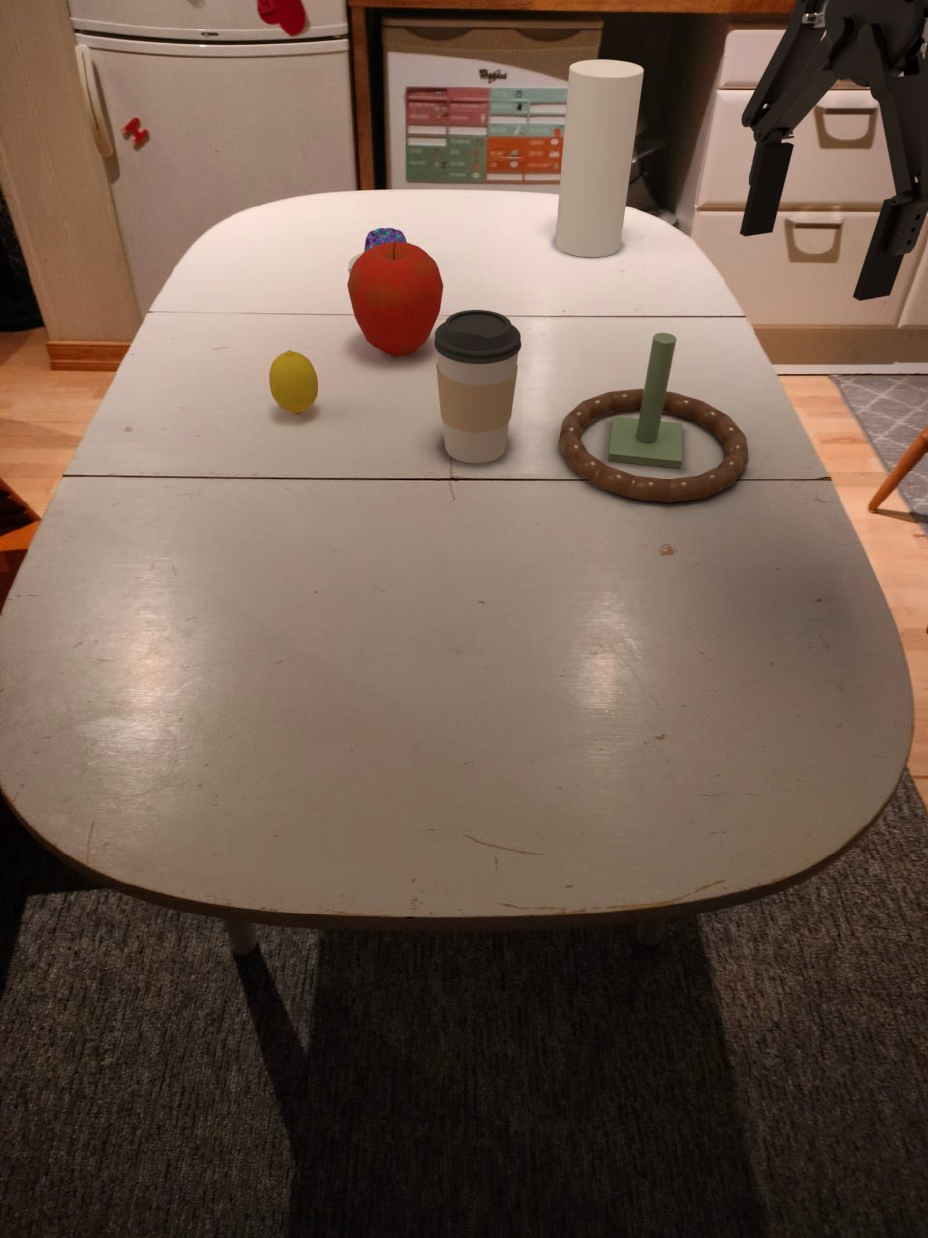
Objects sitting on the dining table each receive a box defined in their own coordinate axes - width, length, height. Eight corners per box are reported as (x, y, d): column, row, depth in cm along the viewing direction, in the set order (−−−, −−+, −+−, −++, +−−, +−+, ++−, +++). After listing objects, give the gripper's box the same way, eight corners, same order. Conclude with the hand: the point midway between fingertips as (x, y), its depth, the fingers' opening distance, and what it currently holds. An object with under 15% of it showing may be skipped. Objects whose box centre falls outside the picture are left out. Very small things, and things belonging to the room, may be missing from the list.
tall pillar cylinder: (602, 262, 134) (624, 79, 117) (543, 247, 138) (556, 69, 121) (630, 241, 141) (655, 65, 123) (573, 227, 145) (590, 55, 127)
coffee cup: (449, 420, 100) (449, 295, 90) (523, 432, 98) (532, 307, 88) (425, 461, 94) (421, 332, 83) (503, 475, 92) (510, 345, 82)
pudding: (332, 271, 131) (329, 236, 127) (381, 247, 138) (379, 213, 134) (393, 290, 126) (392, 255, 122) (441, 264, 133) (440, 230, 129)
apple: (368, 325, 118) (360, 219, 108) (452, 333, 116) (452, 227, 106) (341, 367, 109) (330, 256, 99) (431, 377, 107) (429, 265, 98)
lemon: (322, 423, 99) (314, 360, 94) (274, 427, 99) (264, 364, 93) (320, 399, 103) (313, 337, 98) (274, 403, 103) (264, 341, 97)
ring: (740, 413, 102) (745, 395, 100) (749, 516, 87) (755, 497, 86) (568, 395, 104) (569, 377, 103) (549, 493, 90) (551, 474, 88)
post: (680, 430, 99) (703, 324, 90) (680, 468, 93) (705, 359, 84) (611, 423, 100) (627, 317, 91) (607, 460, 94) (624, 351, 85)
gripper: (735, -112, 58) (679, 216, 72) (1039, -83, 41) (885, 337, 55) (824, -114, 60) (752, 206, 74) (1148, -86, 43) (973, 319, 57)
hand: (809, 262), depth 65 cm, fingers open, 13 cm apart
